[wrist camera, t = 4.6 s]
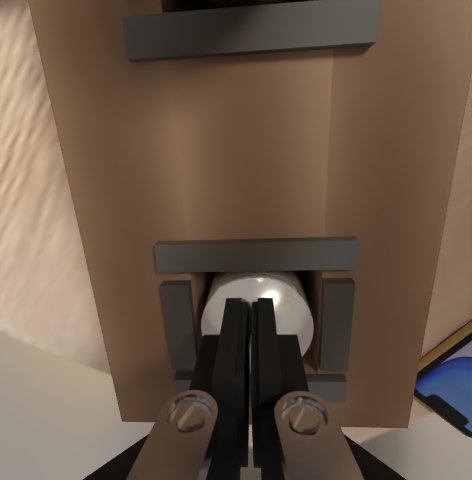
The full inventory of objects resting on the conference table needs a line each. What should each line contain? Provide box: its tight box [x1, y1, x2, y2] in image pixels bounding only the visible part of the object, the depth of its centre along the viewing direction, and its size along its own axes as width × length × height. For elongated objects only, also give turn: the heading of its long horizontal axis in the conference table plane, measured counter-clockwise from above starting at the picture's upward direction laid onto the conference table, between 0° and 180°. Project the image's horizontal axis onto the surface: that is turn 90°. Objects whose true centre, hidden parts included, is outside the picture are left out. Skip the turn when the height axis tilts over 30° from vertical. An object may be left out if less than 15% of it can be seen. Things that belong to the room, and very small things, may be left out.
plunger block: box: [28, 0, 472, 428], centre depth 12 cm, size 12×22×6 cm, turn 3°
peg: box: [201, 270, 314, 370], centre depth 14 cm, size 4×4×6 cm
